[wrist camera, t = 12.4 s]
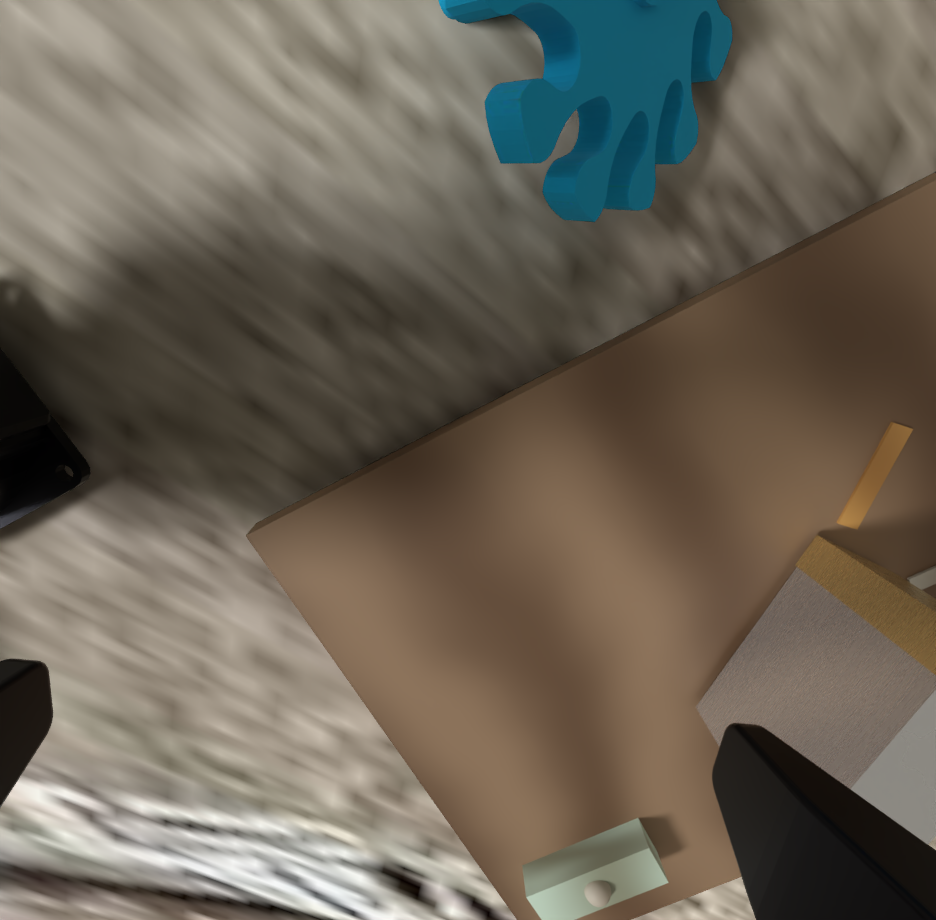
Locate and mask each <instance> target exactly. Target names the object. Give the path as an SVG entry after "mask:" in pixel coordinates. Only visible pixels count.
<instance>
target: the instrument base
mask: <svg viewBox="0 0 936 920" xmlns="http://www.w3.org/2000/svg"><path fill="white" fill-rule="evenodd" d="M816 535H819V536H821V537H823V538H825V539H827V540H829V541H831V542H833V543H835V544H837V545H839V546H841V547H843V548H845V549H847V550H849V551H851V552H853V553H855V554H857V555H859V556H861V557H864V558H866V559H868V560H870V561H872V562H874V563H876V564H878V565H880V566H882V567H884V568H886V569H888V570H890V571H892V572H894V573H895V574H897V575H899V576H900V577H902V578H903V579H905V580H907V581H908V582H910V583H911V584H913V585H915V586H916V587H918V588H919V589H921V590H923V591H924V592H926V593H927V594H929V595H931V596H932V597H934V598H935V599H936V172H935V173H933V174H931V175H929V176H927V177H925V178H923V179H921V180H919V181H917V182H915V183H913V184H912V185H910V186H908V187H906V188H904V189H902V190H900V191H898V192H896V193H894V194H892V195H890V196H888V197H886V198H884V199H883V200H881V201H879V202H877V203H875V204H873V205H871V206H869V207H867V208H865V209H863V210H861V211H859V212H857V213H855V214H854V215H852V216H850V217H848V218H846V219H844V220H842V221H840V222H838V223H836V224H834V225H832V226H830V227H828V228H826V229H825V230H823V231H821V232H819V233H817V234H815V235H813V236H811V237H809V238H807V239H805V240H803V241H801V242H799V243H797V244H795V245H794V246H792V247H790V248H788V249H786V250H784V251H782V252H780V253H778V254H776V255H774V256H772V257H770V258H768V259H766V260H765V261H763V262H761V263H759V264H757V265H755V266H753V267H751V268H749V269H747V270H745V271H743V272H741V273H739V274H737V275H736V276H734V277H732V278H730V279H728V280H726V281H724V282H722V283H720V284H718V285H716V286H714V287H712V288H710V289H708V290H707V291H705V292H703V293H701V294H699V295H697V296H695V297H693V298H691V299H689V300H687V301H685V302H683V303H681V304H679V305H678V306H676V307H674V308H672V309H670V310H668V311H666V312H664V313H662V314H660V315H658V316H656V317H654V318H652V319H650V320H648V321H647V322H645V323H643V324H641V325H639V326H637V327H635V328H633V329H631V330H629V331H627V332H625V333H623V334H621V335H619V336H618V337H616V338H614V339H612V340H610V341H608V342H606V343H604V344H602V345H600V346H598V347H596V348H594V349H592V350H590V351H589V352H587V353H585V354H583V355H581V356H579V357H577V358H575V359H573V360H571V361H569V362H567V363H565V364H563V365H561V366H560V367H558V368H556V369H554V370H552V371H550V372H548V373H546V374H544V375H542V376H540V377H538V378H536V379H534V380H532V381H531V382H529V383H527V384H525V385H523V386H521V387H519V388H517V389H515V390H513V391H511V392H509V393H507V394H505V395H503V396H502V397H500V398H498V399H496V400H494V401H492V402H490V403H488V404H486V405H484V406H482V407H480V408H478V409H476V410H474V411H472V412H471V413H469V414H467V415H465V416H463V417H461V418H459V419H457V420H455V421H453V422H451V423H449V424H447V425H445V426H443V427H442V428H440V429H438V430H436V431H434V432H432V433H430V434H428V435H426V436H424V437H422V438H420V439H418V440H416V441H414V442H413V443H411V444H409V445H407V446H405V447H403V448H401V449H399V450H397V451H395V452H393V453H391V454H389V455H387V456H385V457H384V458H382V459H380V460H378V461H376V462H374V463H372V464H370V465H368V466H366V467H364V468H362V469H360V470H358V471H356V472H355V473H353V474H351V475H349V476H347V477H345V478H343V479H341V480H339V481H337V482H335V483H333V484H331V485H329V486H327V487H326V488H324V489H322V490H320V491H318V492H316V493H314V494H312V495H310V496H308V497H306V498H304V499H302V500H300V501H298V502H296V503H295V504H293V505H291V506H289V507H287V508H285V509H283V510H281V511H279V512H277V513H275V514H273V515H271V516H269V517H267V518H266V519H264V520H262V521H260V522H258V523H256V524H255V526H254V527H253V528H252V529H251V530H250V531H249V533H248V534H247V535H246V537H247V538H248V540H249V541H250V543H251V544H252V545H253V547H254V548H255V550H256V551H257V552H258V554H259V555H260V557H261V558H262V560H263V561H264V562H265V564H266V565H267V567H268V568H269V569H270V571H271V572H272V574H273V575H274V576H275V578H276V579H277V581H278V582H279V584H280V585H281V586H282V588H283V589H284V591H285V592H286V593H287V595H288V596H289V598H290V599H291V601H292V602H293V603H294V605H295V606H296V608H297V609H298V610H299V612H300V613H301V615H302V616H303V618H304V619H305V620H306V622H307V623H308V625H309V626H310V627H311V629H312V630H313V632H314V633H315V634H316V636H317V637H318V639H319V640H320V642H321V643H322V644H323V646H324V647H325V649H326V650H327V651H328V653H329V654H330V656H331V657H332V659H333V660H334V661H335V663H336V664H337V666H338V667H339V668H340V670H341V671H342V673H343V674H344V676H345V677H346V678H347V680H348V681H349V683H350V684H351V685H352V687H353V688H354V690H355V691H356V692H357V694H358V695H359V697H360V698H361V700H362V701H363V702H364V704H365V705H366V707H367V708H368V709H369V711H370V712H371V714H372V715H373V717H374V718H375V719H376V721H377V722H378V724H379V725H380V726H381V728H382V729H383V731H384V732H385V734H386V735H387V736H388V738H389V739H390V741H391V742H392V743H393V745H394V746H395V748H396V749H397V750H398V752H399V753H400V755H401V756H402V758H403V759H404V760H405V762H406V763H407V765H408V766H409V767H410V769H411V770H412V772H413V773H414V775H415V776H416V777H417V779H418V780H419V782H420V783H421V784H422V786H423V787H424V789H425V790H426V792H427V793H428V794H429V796H430V797H431V799H432V800H433V801H434V803H435V804H436V806H437V807H438V808H439V810H440V811H441V813H442V814H443V816H444V817H445V818H446V820H447V821H448V823H449V824H450V825H451V827H452V828H453V830H454V831H455V833H456V834H457V835H458V837H459V838H460V840H461V841H462V842H463V844H464V845H465V847H466V848H467V850H468V851H469V852H470V854H471V855H472V857H473V858H474V859H475V861H476V862H477V864H478V865H479V866H480V868H481V869H482V871H483V872H484V874H485V875H486V876H487V878H488V879H489V881H490V882H491V883H492V885H493V886H494V888H495V889H496V891H497V892H498V893H499V895H500V896H501V898H502V899H503V900H504V902H505V903H506V905H507V906H508V908H509V909H510V910H511V912H512V913H513V915H514V916H515V917H516V919H517V920H631V919H634V918H636V917H639V916H642V915H644V914H647V913H649V912H652V911H654V910H657V909H660V908H662V907H665V906H667V905H670V904H672V903H675V902H678V901H680V900H683V899H685V898H688V897H690V896H693V895H696V894H698V893H701V892H703V891H706V890H708V889H711V888H714V887H716V886H719V885H721V884H724V883H726V882H729V881H732V880H734V879H737V878H739V877H742V876H741V873H740V870H739V867H738V864H737V861H736V857H735V854H734V851H733V848H732V845H731V842H730V839H729V836H728V832H727V829H726V826H725V823H724V820H723V817H722V814H721V811H720V807H719V804H718V801H717V798H716V795H715V792H714V788H713V783H712V770H713V766H714V763H715V759H716V756H717V753H718V750H719V746H718V744H717V742H716V740H715V739H714V737H713V735H712V734H711V732H710V730H709V729H708V727H707V725H706V724H705V722H704V720H703V719H702V717H701V715H700V714H699V712H698V710H697V708H696V706H697V705H698V703H699V702H700V700H701V699H702V698H703V696H704V695H705V694H706V692H707V691H708V689H709V688H710V687H711V685H712V684H713V682H714V681H715V680H716V678H717V677H718V676H719V674H720V673H721V671H722V670H723V669H724V667H725V666H726V664H727V663H728V662H729V660H730V659H731V657H732V656H733V655H734V653H735V652H736V651H737V649H738V648H739V646H740V645H741V644H742V642H743V641H744V639H745V638H746V637H747V635H748V634H749V633H750V631H751V630H752V628H753V627H754V626H755V624H756V623H757V621H758V620H759V619H760V617H761V616H762V615H763V613H764V612H765V610H766V609H767V608H768V606H769V605H770V603H771V602H772V601H773V599H774V598H775V596H776V595H777V594H778V592H779V591H780V590H781V588H782V587H783V585H784V584H785V583H786V581H787V580H788V578H789V577H790V576H791V574H792V573H793V572H794V570H795V569H796V567H797V566H795V564H796V563H797V562H798V560H799V559H800V557H801V556H802V555H803V553H804V552H805V551H806V549H807V548H808V546H809V545H810V544H811V542H812V541H813V539H814V538H815V537H816Z"/></svg>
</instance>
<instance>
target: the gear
mask: <svg viewBox="0 0 936 920" xmlns="http://www.w3.org/2000/svg"><path fill="white" fill-rule="evenodd" d="M439 4H440V6H441V9H442V10H443V12H444V14H445V15H446V16H447V17H448V18H450V19H456V20H457V21H458V22H461V23H465V24H467V23H471V22H476V21H480V20H485V19H489V18H494V17H498V16H503V15H507V14H512V15H514V16H516V17H517V18H519V19H520V20H522V21H523V22H524V23H525V24H526V25H528V26H529V27H530V28H531V29H532V30H533V31H534V32H535V33H536V34H537V35H538V37H539V39H540V41H541V43H542V47H543V51H544V61H545V65H544V74H543V79H530V80H522V81H514V82H506V83H500V84H498V85H496V86H495V87H494V88H492V90H491V91H490V92H489V94H488V96H487V98H486V100H485V109H486V118H487V123H488V127H489V132H490V135H491V138H492V141H493V145H494V147H495V150H496V153H497V155H498V158H499V160H500V163H541V162H543V161H545V160H546V159H547V158H548V157H549V156H550V155H551V153H552V151H553V149H554V147H555V145H556V142H557V140H558V137H559V134H560V133H561V131H562V129H563V127H564V125H565V123H566V121H567V120H568V119H569V117H570V116H571V115H572V113H573V112H574V111H575V110H576V109H577V111H578V115H579V134H578V139H577V142H576V144H575V146H574V148H573V150H572V151H571V152H570V153H569V154H567V155H565V156H563V157H561V158H559V159H557V160H556V161H554V162H553V163H552V165H551V166H550V167H549V169H548V171H547V174H546V176H545V180H544V184H543V195H544V197H545V199H546V201H547V203H548V204H549V206H550V207H551V209H552V210H553V211H554V212H555V213H556V214H557V215H559V216H560V217H561V218H562V219H564V220H574V221H590V222H595V221H596V220H597V219H598V217H599V216H600V214H601V212H602V210H603V208H605V209H617V210H644V209H647V208H650V206H651V204H652V201H653V197H654V193H655V184H656V176H655V164H679V163H681V162H682V161H683V160H684V159H685V158H686V157H687V156H688V155H689V153H690V152H691V151H692V149H693V148H694V146H695V145H696V143H697V137H698V119H697V115H696V112H695V109H694V104H693V100H692V91H691V83H695V82H705V81H715V80H716V79H717V78H718V76H719V74H720V72H721V70H722V68H723V65H724V63H725V60H726V57H727V55H728V52H729V49H730V46H731V43H732V25H731V22H730V20H729V18H728V17H727V16H725V15H724V14H723V13H722V11H721V10H720V8H719V5H718V3H717V0H439Z"/></svg>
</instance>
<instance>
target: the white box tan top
mask: <svg viewBox="0 0 936 920" xmlns="http://www.w3.org/2000/svg"><path fill="white" fill-rule="evenodd" d="M795 566H797V567H796V569H795V570H794V572H793V573H792V574H791V576H790V577H789V578H788V580H787V581H786V583H785V584H784V585H783V587H782V588H781V590H780V591H779V592H778V594H777V595H776V596H775V598H774V599H773V601H772V602H771V603H770V605H769V606H768V608H767V609H766V610H765V612H764V613H763V615H762V616H761V617H760V619H759V620H758V621H757V623H756V624H755V626H754V627H753V628H752V630H751V631H750V633H749V634H748V635H747V637H746V638H745V639H744V641H743V642H742V644H741V645H740V646H739V648H738V649H737V651H736V652H735V653H734V655H733V656H732V657H731V659H730V660H729V662H728V663H727V664H726V666H725V667H724V669H723V670H722V671H721V673H720V674H719V676H718V677H717V678H716V680H715V681H714V682H713V684H712V685H711V687H710V688H709V689H708V691H707V692H706V694H705V695H704V696H703V698H702V699H701V700H700V702H699V703H698V705H697V706H696V708H697V710H698V712H699V714H700V715H701V717H702V719H703V720H704V722H705V724H706V725H707V727H708V729H709V730H710V732H711V734H712V735H713V737H714V739H715V740H716V742H717V744H718V746H719V747H720V744H721V741H722V738H723V735H724V732H725V730H726V728H727V727H728V726H729V725H730V724H732V723H744V724H755V725H760V726H762V727H764V728H765V729H767V730H768V731H770V732H771V733H772V734H774V735H775V736H777V737H778V738H779V739H781V740H782V741H784V742H785V743H786V744H788V745H789V746H791V747H792V748H793V749H795V750H796V751H798V752H799V753H800V754H802V755H803V756H805V757H806V758H807V759H809V760H810V761H812V762H813V763H814V764H816V765H817V766H819V767H820V768H821V769H823V770H824V771H826V772H827V773H828V774H830V775H831V776H833V777H834V778H835V779H837V780H838V781H840V782H841V783H842V784H844V785H845V786H847V787H848V788H849V789H851V790H852V791H854V792H855V793H856V794H858V795H859V796H861V797H862V798H863V799H865V800H866V801H868V802H869V803H870V804H872V805H873V806H875V807H876V808H877V809H879V810H880V811H882V812H883V813H884V814H886V815H887V816H889V817H890V818H891V819H893V820H894V821H896V822H897V823H898V824H900V825H901V826H903V827H904V828H905V829H907V830H908V831H910V832H911V833H912V834H914V835H915V836H917V837H918V838H919V839H921V840H922V841H924V842H925V843H926V844H929V843H930V842H931V841H932V839H933V838H934V837H935V836H936V599H935V598H934V597H932V596H931V595H929V594H927V593H926V592H924V591H923V590H921V589H919V588H918V587H916V586H915V585H913V584H911V583H910V582H908V581H907V580H905V579H903V578H902V577H900V576H899V575H897V574H895V573H894V572H892V571H890V570H888V569H886V568H884V567H882V566H880V565H878V564H876V563H874V562H872V561H870V560H868V559H866V558H864V557H861V556H859V555H857V554H855V553H853V552H851V551H849V550H847V549H845V548H843V547H841V546H839V545H837V544H835V543H833V542H831V541H829V540H827V539H825V538H823V537H821V536H819V535H816V537H815V538H814V539H813V541H812V542H811V544H810V545H809V546H808V548H807V549H806V551H805V552H804V553H803V555H802V556H801V557H800V559H799V560H798V562H797V563H796V564H795Z"/></svg>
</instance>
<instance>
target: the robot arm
mask: <svg viewBox="0 0 936 920" xmlns="http://www.w3.org/2000/svg"><path fill="white" fill-rule="evenodd" d="M65 465H66V466H68V467H69V468H71V469H72V471H73V477H72V476H70V475H68V474H67V473H66V471H65ZM90 474H91V473H90V467H89V465H88V463H87V461H86V460H85V458H84V457H83V456H82V455H81V453H80V452H79V451H78V449H77V448H76V447H75V445H74V444H73V443H72V442H71V440H70V439H69V438H68V436H67V435H66V434H65V432H64V431H63V430H62V429H61V427H60V426H59V425H58V423H57V422H56V421H55V419H54V418H53V417H52V416H51V414H50V413H49V410H48V409H47V408H46V407H45V405H44V404H43V403H42V401H41V400H40V399H39V397H38V396H37V395H36V394H35V392H34V391H33V390H32V388H31V387H30V386H29V384H28V383H27V382H26V381H25V379H24V378H23V377H22V375H21V374H20V373H19V371H18V370H17V369H16V368H15V366H14V365H13V364H12V362H11V361H10V360H9V358H8V357H7V356H6V355H5V353H4V352H3V351H2V349H1V348H0V529H1V528H3V527H5V526H7V525H9V524H10V523H12V522H14V521H16V520H18V519H19V518H21V517H23V516H25V515H27V514H29V513H30V512H32V511H34V510H36V509H38V508H39V507H41V506H43V505H45V504H47V503H49V502H50V501H52V500H54V499H56V498H58V497H60V496H61V495H63V494H65V493H67V492H69V491H70V490H72V489H74V488H76V487H78V486H80V485H81V484H83V483H85V482H86V481H87V480H88V479H89V477H90ZM52 718H53V707H52V697H51V688H50V678H49V670H48V667H47V666H46V665H45V663H43V662H41V661H36V660H24V659H6V660H3V661H0V807H1V806H2V804H3V803H4V801H5V799H6V798H7V796H8V795H9V793H10V792H11V790H12V788H13V787H14V785H15V784H16V782H17V781H18V779H19V778H20V776H21V774H22V773H23V771H24V770H25V768H26V767H27V765H28V763H29V762H30V760H31V759H32V757H33V756H34V754H35V753H36V751H37V749H38V748H39V746H40V745H41V743H42V742H43V740H44V738H45V737H46V735H47V733H48V731H49V729H50V726H51V723H52ZM712 783H713V788H714V792H715V795H716V798H717V801H718V804H719V807H720V811H721V814H722V817H723V820H724V823H725V826H726V829H727V832H728V836H729V839H730V842H731V845H732V848H733V851H734V854H735V857H736V861H737V864H738V867H739V870H740V873H741V876H742V879H743V883H744V886H745V889H746V892H747V895H748V898H749V901H750V904H751V906H752V909H753V912H754V915H755V918H756V920H936V850H935V849H933V848H932V847H931V846H929V845H928V844H926V843H925V842H924V841H922V840H921V839H919V838H918V837H917V836H915V835H914V834H912V833H911V832H910V831H908V830H907V829H905V828H904V827H903V826H901V825H900V824H898V823H897V822H896V821H894V820H893V819H891V818H890V817H889V816H887V815H886V814H884V813H883V812H882V811H880V810H879V809H877V808H876V807H875V806H873V805H872V804H870V803H869V802H868V801H866V800H865V799H863V798H862V797H861V796H859V795H858V794H856V793H855V792H854V791H852V790H851V789H849V788H848V787H847V786H845V785H844V784H842V783H841V782H840V781H838V780H837V779H835V778H834V777H833V776H831V775H830V774H828V773H827V772H826V771H824V770H823V769H821V768H820V767H819V766H817V765H816V764H814V763H813V762H812V761H810V760H809V759H807V758H806V757H805V756H803V755H802V754H800V753H799V752H798V751H796V750H795V749H793V748H792V747H791V746H789V745H788V744H786V743H785V742H784V741H782V740H781V739H779V738H778V737H777V736H775V735H774V734H772V733H771V732H770V731H768V730H767V729H765V728H764V727H762V726H760V725H755V724H744V723H732V724H730V725H729V726H728V727H727V728H726V730H725V732H724V735H723V738H722V741H721V744H720V747H719V750H718V753H717V756H716V759H715V763H714V766H713V770H712Z"/></svg>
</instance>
